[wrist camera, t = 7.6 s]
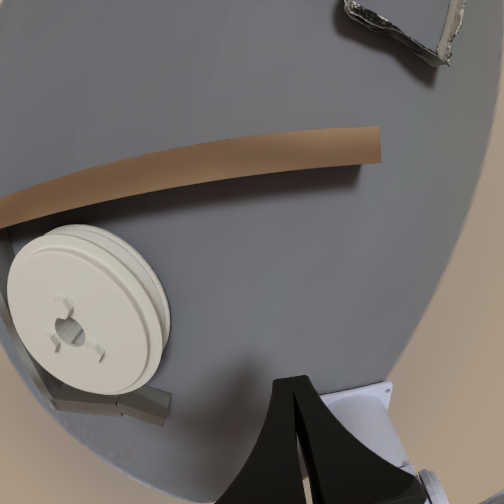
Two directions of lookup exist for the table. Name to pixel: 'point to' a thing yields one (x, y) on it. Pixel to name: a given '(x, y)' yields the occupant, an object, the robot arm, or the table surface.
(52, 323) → the lid
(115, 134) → the table surface
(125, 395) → the u-shaped bar frame
